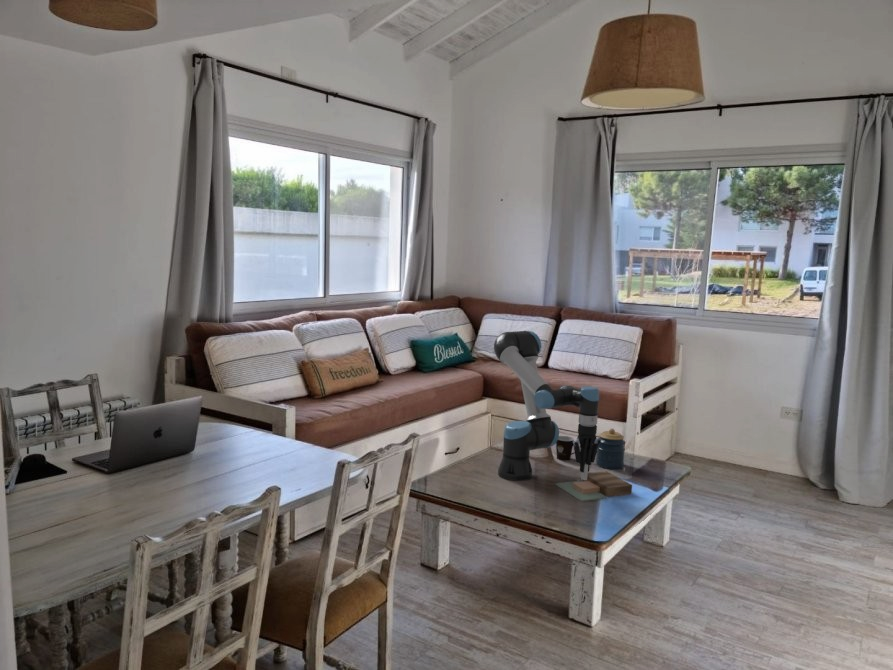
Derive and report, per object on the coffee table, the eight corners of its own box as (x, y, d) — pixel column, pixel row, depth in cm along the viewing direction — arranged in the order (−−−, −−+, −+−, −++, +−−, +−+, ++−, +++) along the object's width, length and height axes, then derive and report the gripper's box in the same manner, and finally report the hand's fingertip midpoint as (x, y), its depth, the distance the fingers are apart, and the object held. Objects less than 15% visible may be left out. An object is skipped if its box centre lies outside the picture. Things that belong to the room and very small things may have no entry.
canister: (591, 466, 321) (594, 429, 318) (599, 459, 332) (602, 423, 330) (619, 471, 315) (622, 434, 312) (626, 464, 326) (629, 427, 324)
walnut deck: (582, 482, 298) (583, 473, 297) (605, 479, 302) (606, 471, 302) (607, 497, 281) (607, 487, 281) (631, 494, 286) (632, 485, 285)
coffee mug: (550, 456, 332) (552, 436, 331) (565, 455, 336) (567, 435, 335) (564, 464, 322) (566, 443, 321) (579, 462, 326) (581, 441, 324)
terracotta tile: (572, 487, 290) (572, 482, 290) (588, 485, 293) (588, 480, 293) (583, 493, 282) (583, 489, 282) (599, 491, 286) (599, 487, 285)
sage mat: (555, 484, 294) (555, 483, 294) (579, 481, 298) (579, 480, 298) (581, 501, 275) (581, 500, 275) (606, 498, 280) (606, 496, 280)
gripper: (579, 427, 278) (575, 483, 281) (606, 425, 283) (602, 480, 286) (569, 422, 285) (565, 477, 288) (595, 420, 290) (591, 474, 293)
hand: (583, 479), depth 287 cm, fingers closed
